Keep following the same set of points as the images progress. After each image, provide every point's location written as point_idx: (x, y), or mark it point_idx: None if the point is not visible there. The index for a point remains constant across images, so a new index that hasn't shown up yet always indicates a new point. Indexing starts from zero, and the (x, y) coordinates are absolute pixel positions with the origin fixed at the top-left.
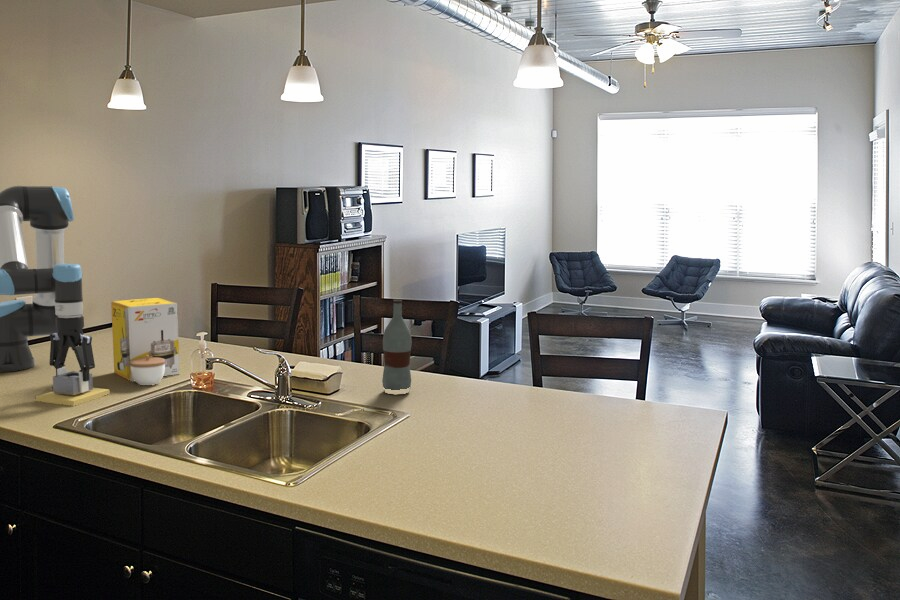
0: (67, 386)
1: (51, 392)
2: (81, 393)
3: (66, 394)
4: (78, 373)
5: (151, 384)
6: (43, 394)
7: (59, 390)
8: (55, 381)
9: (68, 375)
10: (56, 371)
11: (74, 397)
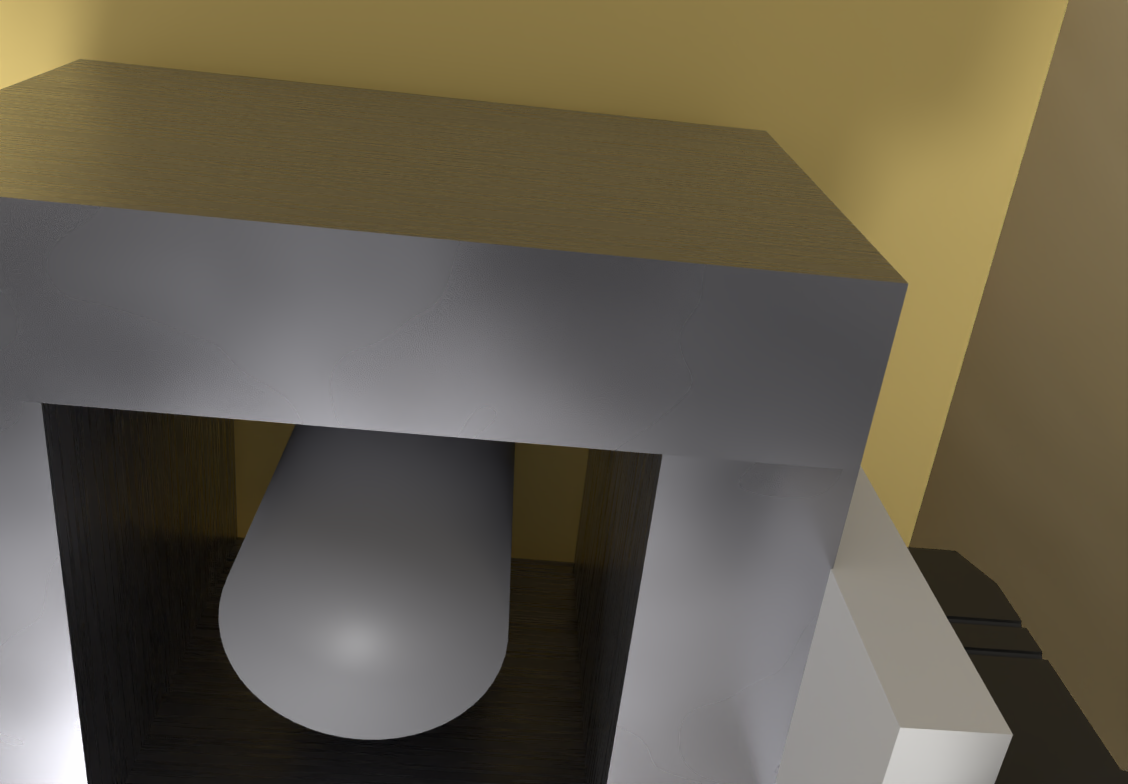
0: (209, 124)
1: (930, 271)
2: None
3: None
4: None
5: None
6: (1014, 56)
7: (564, 128)
8: (740, 216)
9: (610, 703)
10: (1050, 706)
11: (50, 32)
